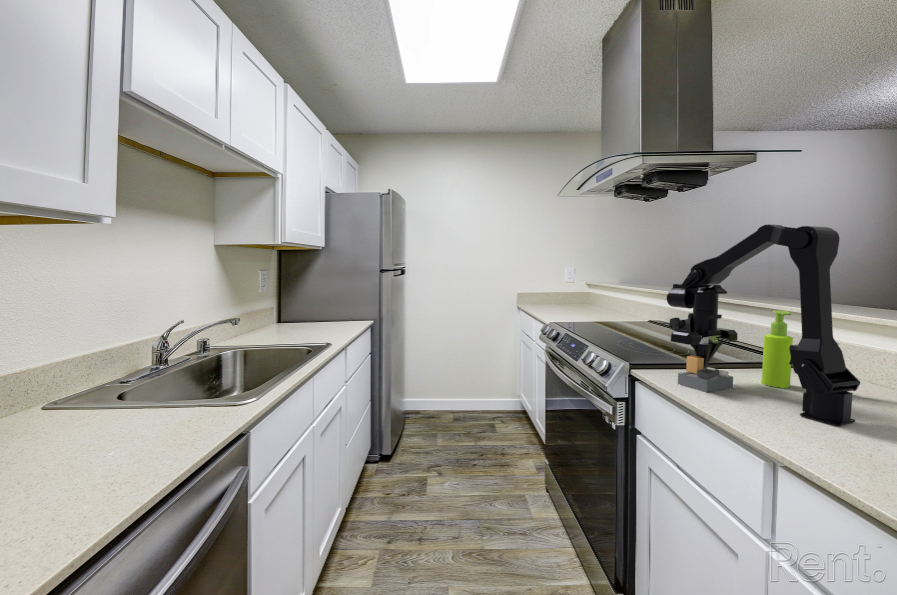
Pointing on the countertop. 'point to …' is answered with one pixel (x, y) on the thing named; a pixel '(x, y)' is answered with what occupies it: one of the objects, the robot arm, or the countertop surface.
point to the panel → (706, 381)
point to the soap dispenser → (777, 353)
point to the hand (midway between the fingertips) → (702, 367)
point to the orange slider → (694, 363)
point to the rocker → (708, 373)
